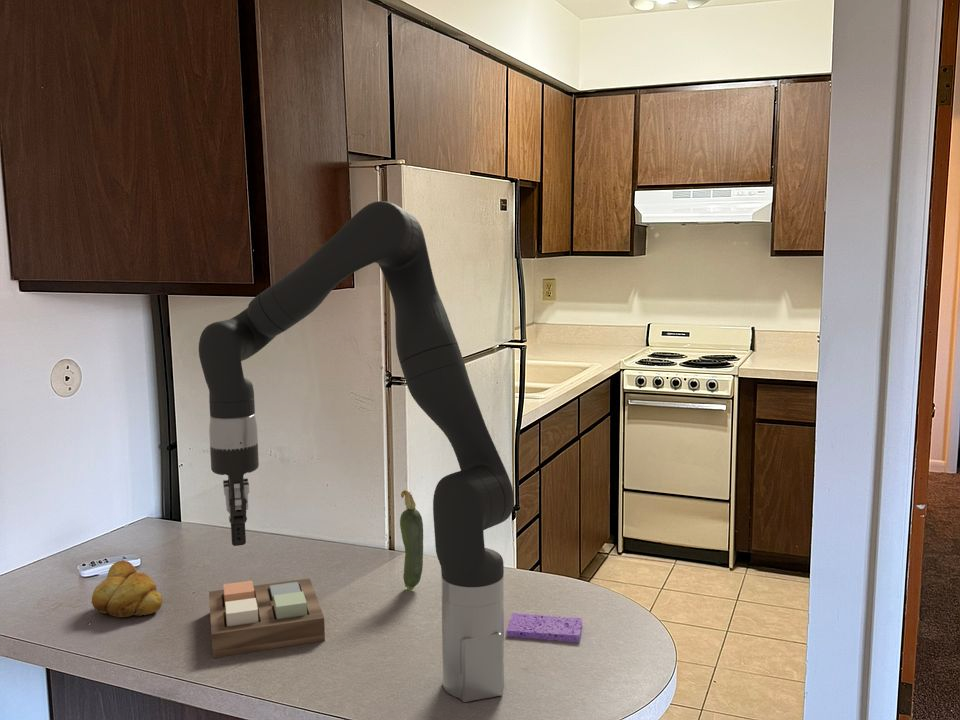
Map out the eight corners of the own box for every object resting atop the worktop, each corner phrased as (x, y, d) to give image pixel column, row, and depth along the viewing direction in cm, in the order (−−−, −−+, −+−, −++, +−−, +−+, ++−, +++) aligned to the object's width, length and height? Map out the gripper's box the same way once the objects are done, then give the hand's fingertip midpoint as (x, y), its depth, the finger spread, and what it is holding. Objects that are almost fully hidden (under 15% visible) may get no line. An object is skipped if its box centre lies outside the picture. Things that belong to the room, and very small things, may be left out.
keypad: (324, 640, 143) (324, 617, 142) (212, 657, 137) (211, 634, 137) (310, 598, 160) (309, 578, 159) (210, 612, 154) (208, 591, 154)
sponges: (579, 646, 142) (579, 635, 141) (504, 639, 144) (504, 629, 144) (582, 627, 148) (583, 617, 148) (511, 621, 151) (511, 611, 151)
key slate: (301, 608, 152) (301, 592, 151) (273, 612, 150) (272, 596, 150) (298, 597, 156) (297, 581, 156) (270, 601, 155) (269, 585, 154)
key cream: (258, 626, 142) (257, 609, 141) (227, 631, 140) (226, 613, 140) (256, 614, 146) (255, 597, 146) (226, 618, 145) (225, 601, 144)
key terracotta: (255, 607, 149) (254, 591, 149) (225, 611, 148) (224, 595, 147) (253, 596, 154) (252, 580, 153) (224, 600, 152) (223, 584, 152)
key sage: (307, 619, 144) (306, 602, 144) (277, 623, 143) (276, 606, 142) (303, 607, 149) (302, 591, 148) (274, 611, 147) (273, 595, 147)
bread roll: (174, 607, 156) (172, 566, 155) (131, 629, 148) (128, 585, 147) (125, 595, 162) (123, 554, 161) (81, 615, 154) (78, 572, 153)
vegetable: (426, 586, 165) (424, 486, 162) (422, 595, 161) (420, 493, 158) (403, 586, 165) (401, 486, 163) (399, 595, 161) (397, 492, 158)
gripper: (260, 449, 134) (265, 554, 136) (254, 431, 146) (259, 528, 149) (210, 453, 132) (216, 560, 134) (209, 435, 144) (214, 533, 146)
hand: (238, 543), depth 141 cm, fingers closed
